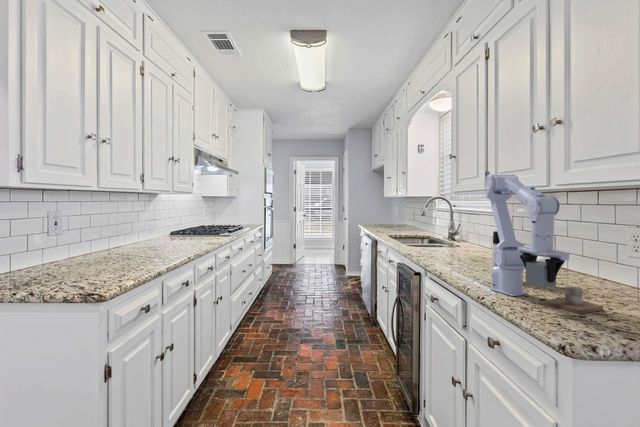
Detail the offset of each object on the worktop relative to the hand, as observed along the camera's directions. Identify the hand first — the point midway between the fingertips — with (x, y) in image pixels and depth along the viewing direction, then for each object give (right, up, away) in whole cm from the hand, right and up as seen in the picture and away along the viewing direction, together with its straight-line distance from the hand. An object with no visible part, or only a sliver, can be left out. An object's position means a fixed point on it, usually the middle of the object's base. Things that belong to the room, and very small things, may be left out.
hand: (540, 279), depth 98 cm
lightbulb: (+19, -8, +28) cm, 35 cm away
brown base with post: (+11, -9, +1) cm, 14 cm away
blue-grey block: (0, -1, 0) cm, 1 cm away
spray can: (+9, -7, +36) cm, 38 cm away
